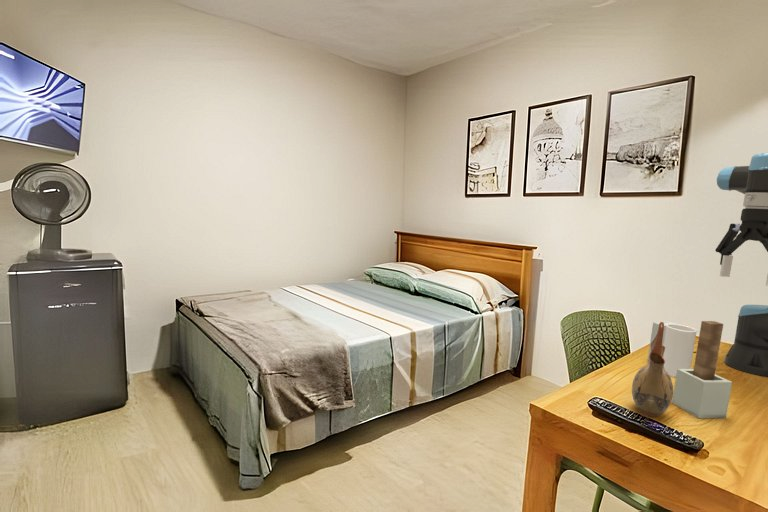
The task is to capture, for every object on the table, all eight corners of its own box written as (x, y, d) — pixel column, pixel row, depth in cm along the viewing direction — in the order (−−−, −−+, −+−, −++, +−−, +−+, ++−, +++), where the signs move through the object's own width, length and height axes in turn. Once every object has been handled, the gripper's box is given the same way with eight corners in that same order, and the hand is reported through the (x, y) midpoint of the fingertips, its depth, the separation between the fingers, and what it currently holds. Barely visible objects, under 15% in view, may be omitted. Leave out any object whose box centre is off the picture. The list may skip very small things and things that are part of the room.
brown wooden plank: (700, 404, 114) (714, 321, 111) (708, 409, 112) (723, 324, 108) (687, 404, 113) (701, 321, 110) (695, 409, 111) (710, 323, 108)
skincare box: (665, 360, 150) (671, 320, 148) (680, 366, 144) (686, 326, 142) (646, 360, 148) (652, 321, 146) (660, 367, 143) (667, 326, 141)
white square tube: (697, 402, 117) (703, 368, 116) (725, 417, 109) (732, 382, 108) (671, 402, 116) (677, 369, 115) (698, 418, 108) (704, 382, 106)
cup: (694, 379, 133) (702, 332, 131) (666, 376, 135) (673, 329, 133) (681, 370, 141) (688, 325, 139) (655, 366, 143) (662, 322, 141)
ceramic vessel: (669, 432, 100) (685, 333, 97) (626, 419, 105) (640, 325, 102) (668, 406, 114) (682, 319, 110) (631, 396, 119) (643, 312, 115)
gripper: (708, 206, 129) (697, 272, 132) (797, 208, 105) (781, 289, 108) (729, 207, 130) (718, 273, 133) (821, 210, 106) (805, 290, 109)
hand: (746, 280), depth 121 cm, fingers open, 13 cm apart
